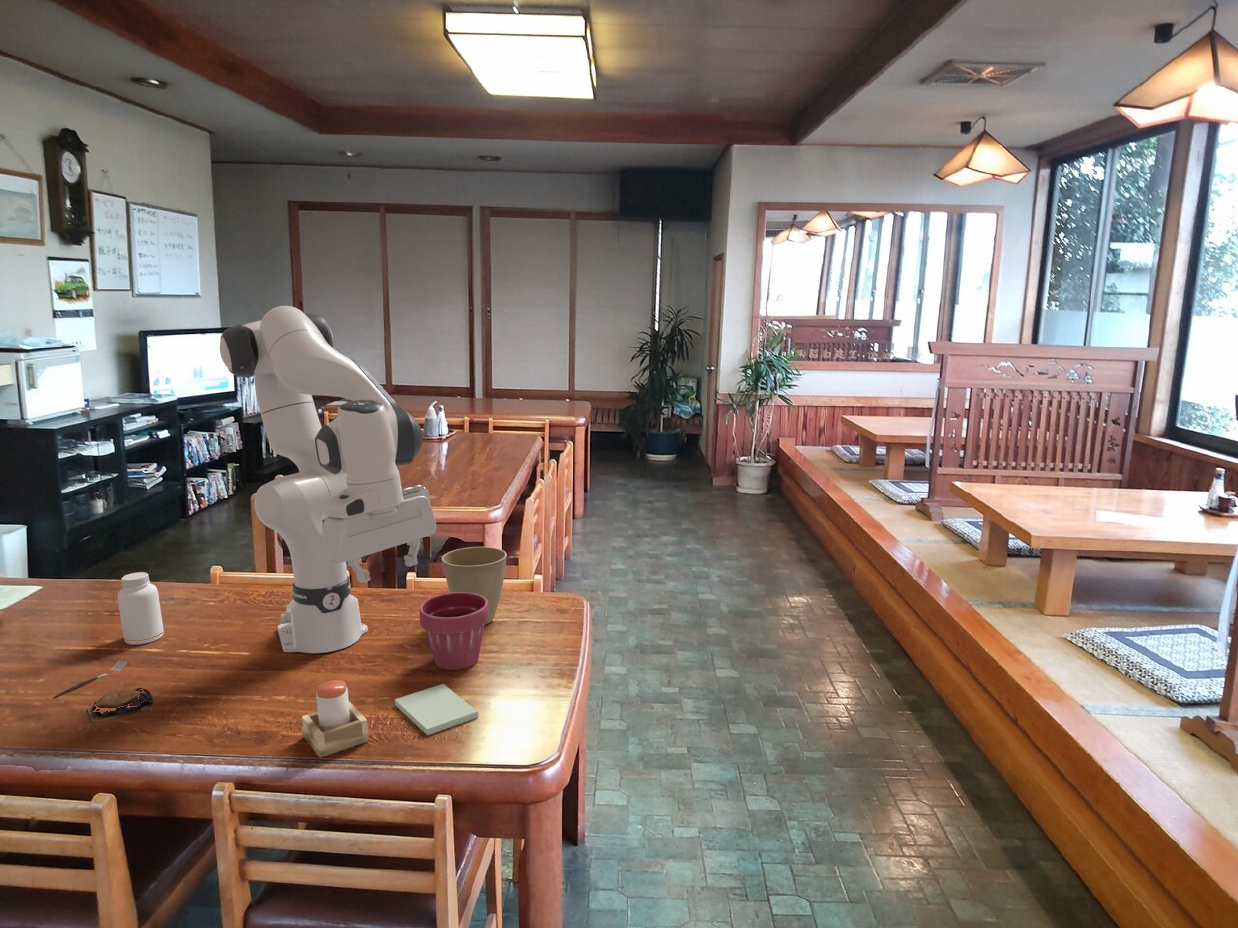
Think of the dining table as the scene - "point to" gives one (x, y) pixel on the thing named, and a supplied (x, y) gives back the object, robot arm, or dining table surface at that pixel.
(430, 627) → the plant pot
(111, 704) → the sandwich
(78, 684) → the fork
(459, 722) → the pale green flat slab
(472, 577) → the plant pot
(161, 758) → the dining table surface
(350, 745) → the holder
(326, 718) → the shaker
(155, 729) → the dining table surface
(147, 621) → the pill bottle
